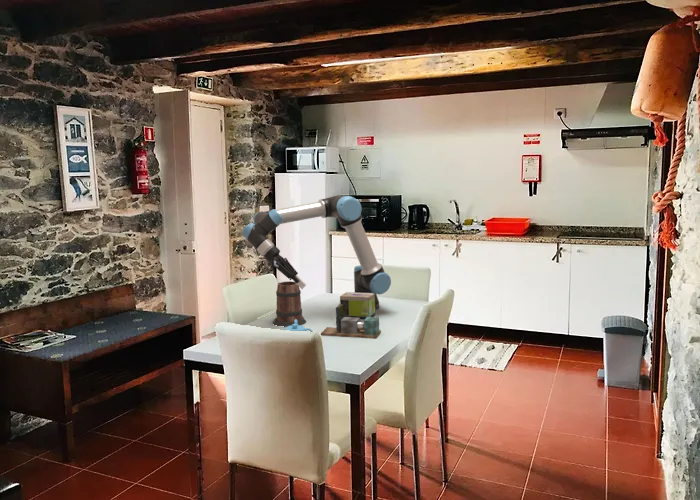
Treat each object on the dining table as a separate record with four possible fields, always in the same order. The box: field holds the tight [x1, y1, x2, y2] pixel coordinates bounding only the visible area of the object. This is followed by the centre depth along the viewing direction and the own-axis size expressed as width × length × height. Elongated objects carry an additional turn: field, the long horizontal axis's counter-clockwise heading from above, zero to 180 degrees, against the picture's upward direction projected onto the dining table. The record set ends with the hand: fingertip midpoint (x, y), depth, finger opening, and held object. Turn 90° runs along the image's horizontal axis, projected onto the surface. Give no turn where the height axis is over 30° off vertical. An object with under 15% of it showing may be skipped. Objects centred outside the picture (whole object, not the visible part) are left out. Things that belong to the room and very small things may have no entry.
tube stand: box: [320, 316, 382, 339], centre depth 271 cm, size 26×10×8 cm, turn 76°
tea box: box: [339, 291, 376, 322], centre depth 287 cm, size 15×10×15 cm
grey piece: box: [335, 303, 364, 331], centre depth 270 cm, size 17×6×11 cm, turn 76°
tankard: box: [272, 280, 307, 328], centre depth 295 cm, size 24×17×20 cm
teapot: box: [284, 319, 314, 333], centre depth 249 cm, size 15×14×11 cm
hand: (304, 286), depth 274 cm, fingers closed
